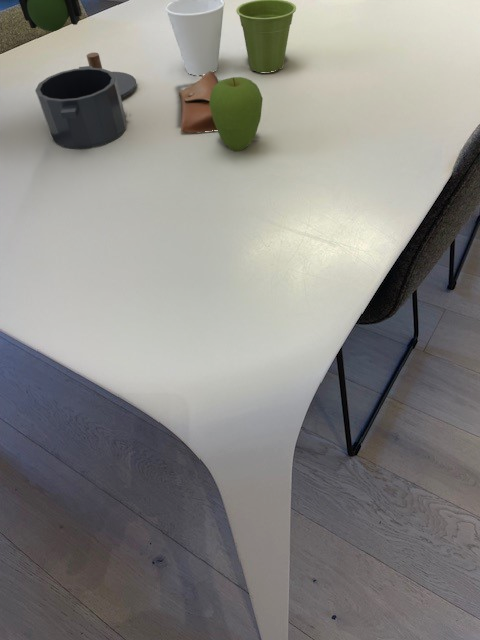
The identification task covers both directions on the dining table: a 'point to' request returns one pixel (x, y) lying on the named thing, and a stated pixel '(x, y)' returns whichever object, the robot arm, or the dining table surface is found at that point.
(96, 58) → the lid
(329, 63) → the dining table surface
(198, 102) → the sunglasses case
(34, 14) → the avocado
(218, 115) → the apple
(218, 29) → the cup
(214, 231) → the dining table surface
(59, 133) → the pot
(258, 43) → the plant pot
